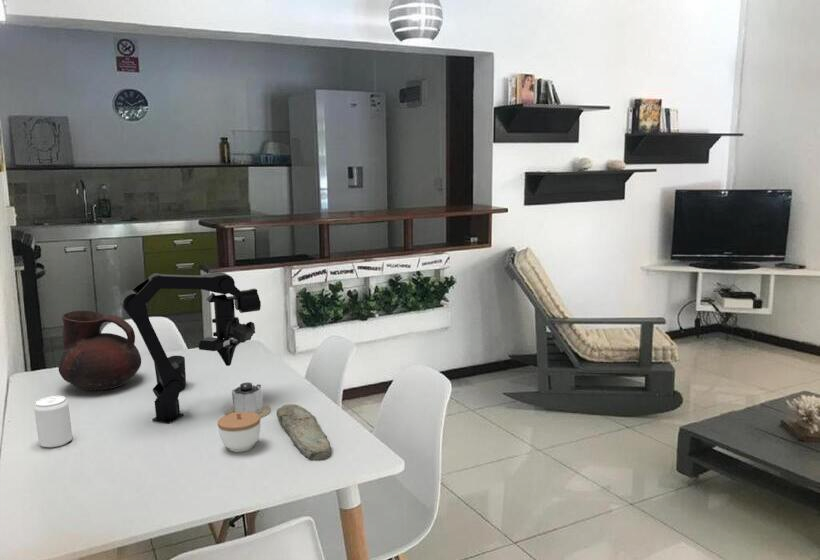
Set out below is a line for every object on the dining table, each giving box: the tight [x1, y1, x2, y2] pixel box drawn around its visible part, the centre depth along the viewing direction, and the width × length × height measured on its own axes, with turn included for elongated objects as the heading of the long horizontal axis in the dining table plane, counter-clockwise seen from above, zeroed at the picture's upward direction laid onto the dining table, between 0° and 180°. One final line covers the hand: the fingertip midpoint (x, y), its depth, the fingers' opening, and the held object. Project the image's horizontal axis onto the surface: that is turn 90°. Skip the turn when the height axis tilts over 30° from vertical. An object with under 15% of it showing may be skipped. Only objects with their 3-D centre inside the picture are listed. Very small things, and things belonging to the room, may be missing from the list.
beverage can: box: [33, 395, 73, 448], centre depth 183 cm, size 8×8×12 cm
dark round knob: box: [239, 382, 253, 394], centre depth 201 cm, size 5×5×6 cm
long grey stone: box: [276, 403, 332, 461], centre depth 185 cm, size 35×5×10 cm
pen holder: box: [153, 355, 187, 391], centre depth 223 cm, size 9×9×10 cm
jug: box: [58, 310, 142, 391], centre depth 227 cm, size 25×25×25 cm
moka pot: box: [224, 383, 271, 419], centre depth 201 cm, size 13×13×7 cm
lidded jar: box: [217, 412, 261, 453], centre depth 178 cm, size 11×11×9 cm
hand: (228, 365), depth 206 cm, fingers closed
